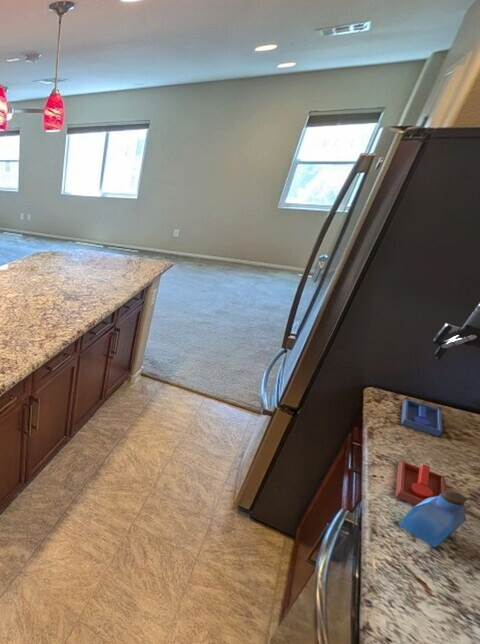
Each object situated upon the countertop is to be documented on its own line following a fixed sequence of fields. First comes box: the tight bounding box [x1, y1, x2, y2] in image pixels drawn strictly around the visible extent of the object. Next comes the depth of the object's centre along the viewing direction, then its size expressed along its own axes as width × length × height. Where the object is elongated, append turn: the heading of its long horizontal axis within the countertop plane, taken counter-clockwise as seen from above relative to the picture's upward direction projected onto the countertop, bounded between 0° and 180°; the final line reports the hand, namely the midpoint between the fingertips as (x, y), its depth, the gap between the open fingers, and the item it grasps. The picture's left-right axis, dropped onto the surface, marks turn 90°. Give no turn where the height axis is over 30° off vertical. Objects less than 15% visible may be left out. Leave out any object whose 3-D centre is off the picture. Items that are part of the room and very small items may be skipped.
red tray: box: [395, 460, 446, 506], centre depth 97 cm, size 14×8×2 cm, turn 134°
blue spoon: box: [412, 406, 431, 426], centre depth 119 cm, size 11×4×2 cm, turn 135°
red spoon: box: [410, 463, 433, 499], centre depth 97 cm, size 11×4×2 cm, turn 134°
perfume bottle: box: [397, 489, 468, 548], centre depth 84 cm, size 6×6×12 cm
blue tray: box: [400, 398, 443, 437], centre depth 119 cm, size 14×8×2 cm, turn 134°
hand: (459, 363), depth 110 cm, fingers open, 8 cm apart
